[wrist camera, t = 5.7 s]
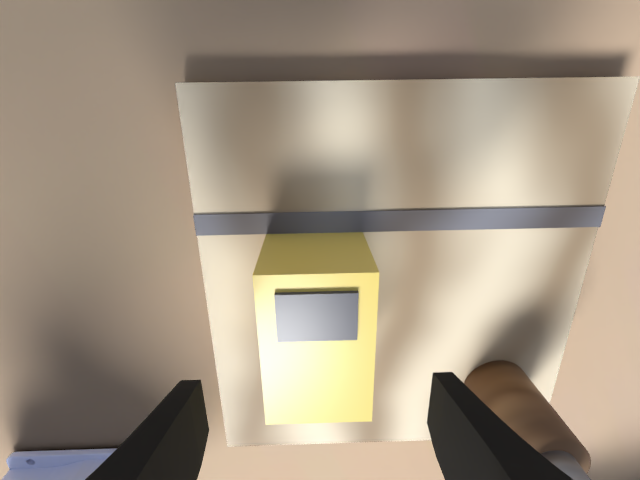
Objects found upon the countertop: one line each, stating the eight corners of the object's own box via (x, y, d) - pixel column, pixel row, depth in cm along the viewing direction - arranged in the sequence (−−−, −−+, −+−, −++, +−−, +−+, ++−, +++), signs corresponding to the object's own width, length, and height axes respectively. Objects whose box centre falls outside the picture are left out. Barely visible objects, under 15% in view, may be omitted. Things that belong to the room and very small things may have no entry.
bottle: (458, 411, 21) (512, 523, 15) (466, 361, 20) (529, 463, 14) (519, 409, 21) (595, 520, 15) (531, 359, 20) (619, 460, 14)
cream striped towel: (231, 429, 23) (227, 448, 21) (184, 84, 15) (174, 82, 14) (529, 420, 23) (541, 437, 22) (616, 78, 16) (642, 76, 15)
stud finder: (275, 356, 19) (265, 428, 15) (266, 233, 17) (251, 277, 12) (358, 353, 19) (372, 425, 15) (362, 231, 17) (380, 275, 13)
